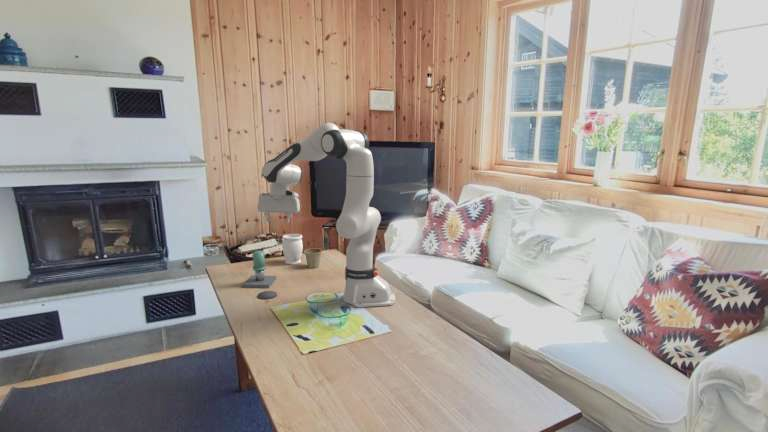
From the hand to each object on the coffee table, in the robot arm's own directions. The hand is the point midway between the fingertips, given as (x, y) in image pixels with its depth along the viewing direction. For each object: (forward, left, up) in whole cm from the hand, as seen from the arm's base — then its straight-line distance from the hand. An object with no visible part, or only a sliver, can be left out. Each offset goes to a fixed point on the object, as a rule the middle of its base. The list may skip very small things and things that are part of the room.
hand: (277, 221), depth 200 cm
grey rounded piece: (+7, +10, -26) cm, 28 cm away
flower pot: (-13, -16, -27) cm, 34 cm away
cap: (+7, +10, -20) cm, 24 cm away
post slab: (+7, +10, -27) cm, 30 cm away
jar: (-1, -22, -27) cm, 35 cm away
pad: (-1, +25, -27) cm, 37 cm away
